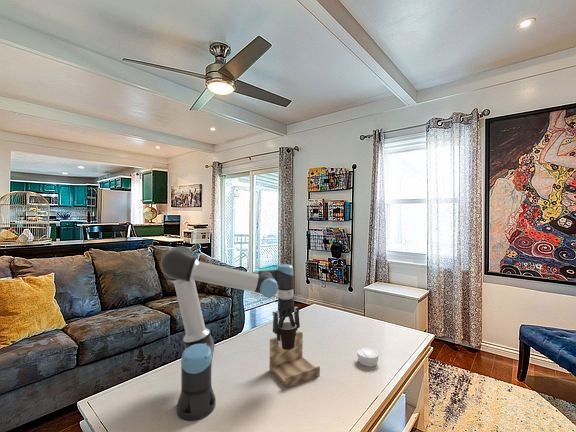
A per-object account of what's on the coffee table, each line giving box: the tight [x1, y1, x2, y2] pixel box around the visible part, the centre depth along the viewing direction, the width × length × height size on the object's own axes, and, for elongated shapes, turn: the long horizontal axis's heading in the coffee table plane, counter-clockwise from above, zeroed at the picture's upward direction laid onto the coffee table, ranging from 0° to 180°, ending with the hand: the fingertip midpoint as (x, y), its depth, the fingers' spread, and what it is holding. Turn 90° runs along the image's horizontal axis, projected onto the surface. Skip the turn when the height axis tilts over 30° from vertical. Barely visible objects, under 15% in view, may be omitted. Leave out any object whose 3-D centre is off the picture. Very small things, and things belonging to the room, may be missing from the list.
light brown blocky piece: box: [269, 330, 321, 389], centre depth 141 cm, size 19×16×16 cm
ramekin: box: [356, 347, 380, 368], centre depth 152 cm, size 11×11×5 cm
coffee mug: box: [279, 321, 297, 350], centre depth 137 cm, size 12×9×10 cm
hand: (286, 344), depth 137 cm, fingers closed on coffee mug, 6 cm apart
